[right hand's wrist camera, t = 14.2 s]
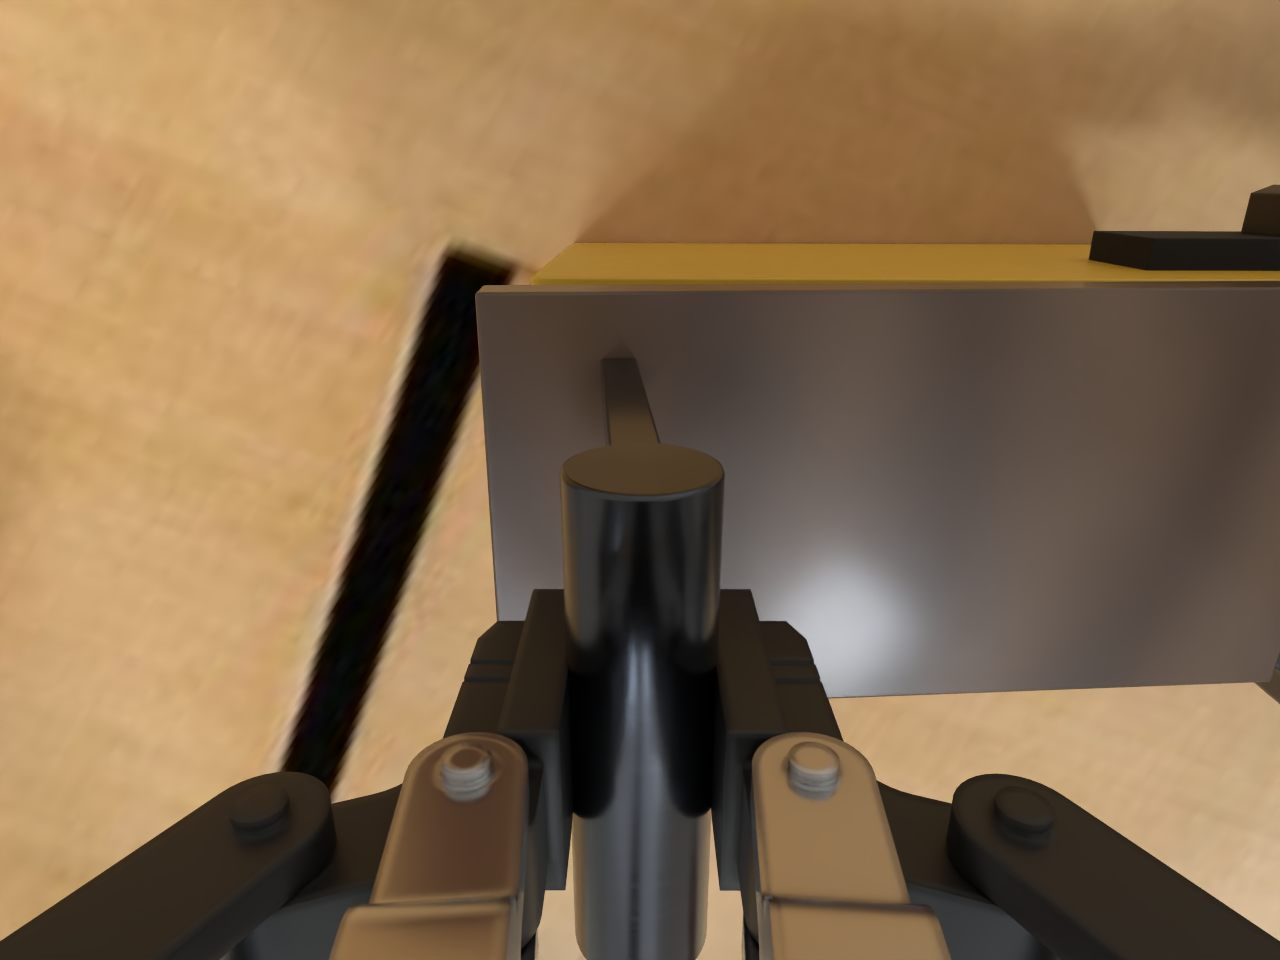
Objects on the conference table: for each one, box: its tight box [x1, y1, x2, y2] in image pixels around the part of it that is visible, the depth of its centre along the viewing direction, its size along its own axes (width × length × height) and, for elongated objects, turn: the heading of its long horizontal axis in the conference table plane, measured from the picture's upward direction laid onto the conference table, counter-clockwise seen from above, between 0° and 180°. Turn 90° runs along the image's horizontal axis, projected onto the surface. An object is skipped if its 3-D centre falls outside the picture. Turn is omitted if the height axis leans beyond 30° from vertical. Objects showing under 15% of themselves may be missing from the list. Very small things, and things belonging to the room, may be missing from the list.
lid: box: [475, 281, 1280, 960], centre depth 14 cm, size 18×9×9 cm, turn 90°
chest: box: [531, 243, 1280, 285], centre depth 24 cm, size 18×9×10 cm, turn 90°
